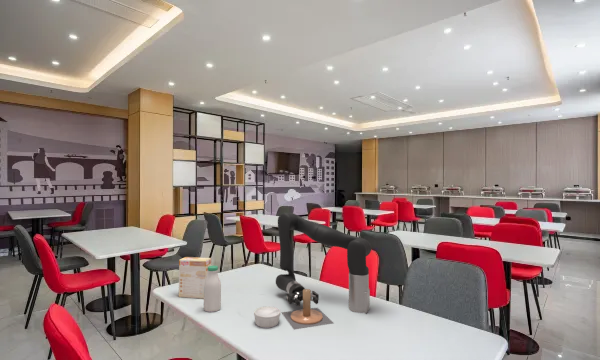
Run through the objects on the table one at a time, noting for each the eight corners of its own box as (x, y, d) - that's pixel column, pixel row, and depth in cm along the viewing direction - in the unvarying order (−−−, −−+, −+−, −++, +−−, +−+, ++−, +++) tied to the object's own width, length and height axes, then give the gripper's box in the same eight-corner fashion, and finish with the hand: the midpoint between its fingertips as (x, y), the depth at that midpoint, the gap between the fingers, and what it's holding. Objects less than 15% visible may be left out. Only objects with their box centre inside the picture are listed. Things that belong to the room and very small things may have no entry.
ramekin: (279, 330, 130) (279, 317, 130) (251, 329, 130) (251, 316, 130) (281, 318, 141) (281, 306, 141) (256, 318, 142) (256, 306, 142)
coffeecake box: (211, 294, 170) (211, 257, 171) (205, 299, 163) (205, 260, 164) (185, 292, 173) (185, 256, 173) (178, 297, 166) (178, 259, 166)
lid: (327, 314, 145) (327, 287, 145) (315, 327, 132) (315, 297, 132) (298, 309, 151) (299, 283, 151) (285, 320, 138) (285, 292, 138)
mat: (317, 308, 153) (317, 307, 153) (334, 324, 136) (334, 323, 136) (281, 313, 147) (281, 312, 147) (293, 330, 130) (293, 329, 130)
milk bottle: (224, 309, 151) (224, 266, 151) (209, 313, 145) (210, 269, 146) (215, 304, 156) (215, 263, 156) (200, 309, 151) (201, 266, 151)
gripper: (281, 284, 152) (292, 296, 137) (309, 281, 157) (323, 292, 142) (281, 300, 152) (292, 313, 137) (309, 297, 157) (323, 309, 142)
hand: (308, 302), depth 139 cm, fingers open, 8 cm apart
